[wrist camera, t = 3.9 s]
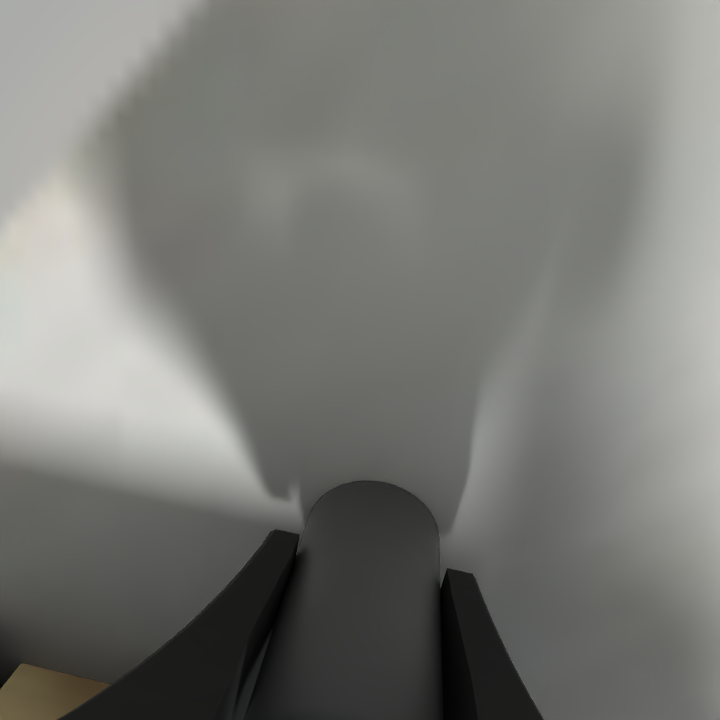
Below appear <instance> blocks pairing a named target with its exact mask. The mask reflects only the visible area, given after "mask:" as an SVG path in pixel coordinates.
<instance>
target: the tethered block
mask: <svg viewBox="0 0 720 720" xmlns="http://www.w3.org/2000/svg"><path fill="white" fill-rule="evenodd" d="M244 720H443V679H442V636H441V592H440V549H439V532H438V528H437V524H436V522H435V519H434V517H433V516H432V514H431V512H430V511H429V510H428V508H427V507H426V506H425V505H424V504H423V503H422V502H421V501H420V500H419V499H418V498H416V497H415V496H414V495H412V494H411V493H409V492H407V491H405V490H403V489H401V488H399V487H396V486H394V485H390V484H387V483H382V482H376V481H358V482H352V483H347V484H344V485H341V486H339V487H336V488H334V489H332V490H331V491H329V492H327V493H326V494H325V495H323V496H322V497H321V498H320V499H319V500H318V501H317V502H316V504H315V505H314V507H313V508H312V510H311V513H310V515H309V518H308V521H307V524H306V527H305V530H304V533H303V536H302V539H301V543H300V546H299V549H298V552H297V555H296V559H295V562H294V565H293V568H292V571H291V574H290V577H289V580H288V584H287V587H286V590H285V593H284V595H283V599H282V602H281V605H280V608H279V611H278V614H277V617H276V620H275V624H274V627H273V630H272V633H271V636H270V639H269V642H268V645H267V648H266V652H265V655H264V658H263V661H262V664H261V667H260V670H259V673H258V676H257V680H256V683H255V686H254V689H253V692H252V695H251V698H250V701H249V704H248V708H247V711H246V714H245V717H244Z"/></svg>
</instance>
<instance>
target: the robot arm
mask: <svg viewBox="0 0 720 720" xmlns="http://www.w3.org/2000/svg"><path fill="white" fill-rule="evenodd" d="M298 541H299V534H294V533H290V532H285V531H281V530H277V529H275V530H273V531H271V532H270V533H269V535H268V536H267V538H266V539H265V541H264V542H263V544H262V545H261V546H260V548H259V549H258V550H257V552H256V553H255V554H254V555H253V557H252V558H251V559H250V560H249V561H248V563H247V564H246V565H245V566H244V567H243V569H242V570H241V571H240V572H239V573H238V574H237V575H236V576H235V577H234V579H233V580H232V581H231V582H230V583H229V584H228V585H227V586H226V587H225V589H224V590H223V591H222V592H221V593H220V594H219V595H218V596H217V597H216V598H215V599H214V600H213V601H212V602H211V603H210V604H209V605H208V606H207V607H206V608H205V609H204V610H203V611H202V612H201V613H200V614H199V615H198V616H196V617H195V618H194V619H193V620H192V621H191V622H190V623H189V624H188V625H187V626H186V627H184V628H183V629H182V630H181V631H180V632H179V633H178V634H177V635H175V636H174V637H173V638H172V639H171V640H169V641H168V642H167V643H166V644H165V645H163V646H162V647H161V648H160V649H159V650H157V651H156V652H155V653H153V654H152V655H151V656H150V657H148V658H147V659H146V660H144V661H143V662H142V663H141V664H139V665H138V666H137V667H135V668H134V669H133V670H131V671H130V672H129V673H127V674H126V675H124V676H123V677H122V678H120V679H119V680H117V681H116V682H114V683H113V684H111V685H110V686H108V687H107V688H105V689H104V690H102V691H101V692H99V693H98V694H96V695H95V696H93V697H92V698H90V699H89V700H87V701H86V702H84V703H83V704H81V705H80V706H78V707H77V708H75V709H74V710H72V711H70V712H69V713H67V714H65V715H64V716H62V717H60V718H59V719H57V720H244V717H245V714H246V711H247V708H248V704H249V701H250V698H251V695H252V692H253V689H254V686H255V683H256V680H257V676H258V673H259V670H260V667H261V664H262V661H263V658H264V655H265V652H266V648H267V645H268V642H269V639H270V636H271V633H272V630H273V627H274V624H275V620H276V617H277V614H278V611H279V608H280V605H281V602H282V599H283V595H284V593H285V590H286V587H287V584H288V580H289V577H290V574H291V571H292V568H293V565H294V562H295V559H296V553H297V547H298ZM440 592H441V636H442V679H443V720H544V719H543V718H542V716H541V714H540V713H539V711H538V709H537V707H536V706H535V704H534V702H533V700H532V699H531V697H530V695H529V693H528V691H527V690H526V688H525V686H524V684H523V682H522V680H521V679H520V677H519V675H518V673H517V671H516V669H515V667H514V665H513V663H512V661H511V659H510V657H509V655H508V653H507V651H506V649H505V647H504V645H503V642H502V640H501V638H500V636H499V634H498V632H497V630H496V627H495V625H494V623H493V621H492V618H491V616H490V614H489V611H488V609H487V607H486V604H485V602H484V599H483V597H482V594H481V592H480V589H479V587H478V584H477V582H476V579H475V577H474V576H473V574H471V573H467V572H462V571H458V570H453V569H449V568H447V570H446V573H445V577H444V580H443V583H442V586H441V589H440Z"/></svg>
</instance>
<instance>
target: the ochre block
mask: <svg viewBox="0 0 720 720" xmlns="http://www.w3.org/2000/svg"><path fill="white" fill-rule="evenodd" d="M110 685H111V684H107V683H103V682H99V681H94V680H90V679H86V678H82V677H78V676H74V675H69V674H65V673H61V672H57V671H53V670H49V669H44V668H40V667H36V666H32V665H28V664H23V663H21V664H20V665H19V666H18V668H17V669H16V670H15V671H14V673H13V674H12V675H11V677H10V678H9V679H8V680H7V682H6V683H5V684H4V685H3V687H2V688H1V689H0V720H57V719H59V718H60V717H62V716H64V715H65V714H67V713H69V712H70V711H72V710H74V709H75V708H77V707H78V706H80V705H81V704H83V703H84V702H86V701H87V700H89V699H90V698H92V697H93V696H95V695H96V694H98V693H99V692H101V691H102V690H104V689H105V688H107V687H108V686H110Z"/></svg>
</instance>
